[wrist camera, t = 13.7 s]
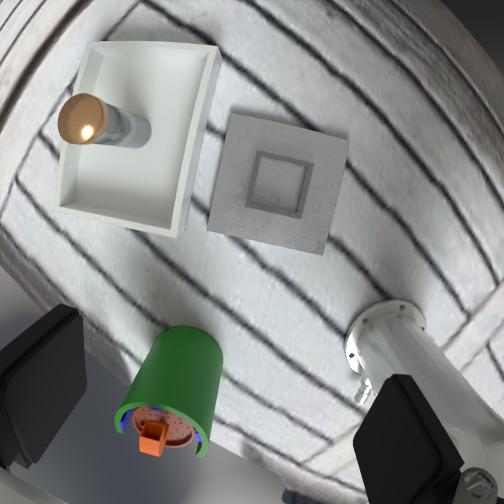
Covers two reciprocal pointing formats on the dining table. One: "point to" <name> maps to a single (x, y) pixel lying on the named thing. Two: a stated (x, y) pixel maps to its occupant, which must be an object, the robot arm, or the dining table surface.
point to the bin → (159, 145)
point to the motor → (174, 392)
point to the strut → (101, 124)
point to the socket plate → (277, 184)
